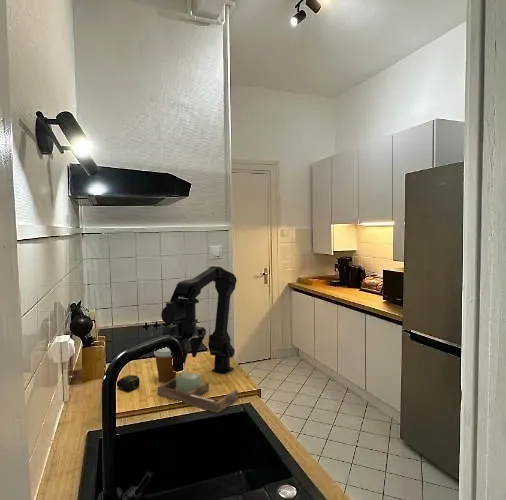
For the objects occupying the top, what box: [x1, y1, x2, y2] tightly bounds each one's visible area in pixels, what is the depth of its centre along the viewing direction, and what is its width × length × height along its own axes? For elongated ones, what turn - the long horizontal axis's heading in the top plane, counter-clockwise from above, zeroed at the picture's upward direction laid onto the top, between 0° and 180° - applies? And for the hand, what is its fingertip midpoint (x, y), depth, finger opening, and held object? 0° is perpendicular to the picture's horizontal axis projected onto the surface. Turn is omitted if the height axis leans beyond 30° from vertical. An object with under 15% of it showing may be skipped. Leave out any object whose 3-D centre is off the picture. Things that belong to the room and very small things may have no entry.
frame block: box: [175, 371, 202, 393], centre depth 132 cm, size 5×7×6 cm
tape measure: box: [116, 374, 141, 392], centre depth 135 cm, size 7×7×4 cm
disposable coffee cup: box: [153, 347, 177, 383], centre depth 142 cm, size 10×10×12 cm
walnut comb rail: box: [157, 378, 239, 414], centre depth 126 cm, size 11×26×3 cm, turn 59°
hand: (188, 361), depth 131 cm, fingers open, 9 cm apart
